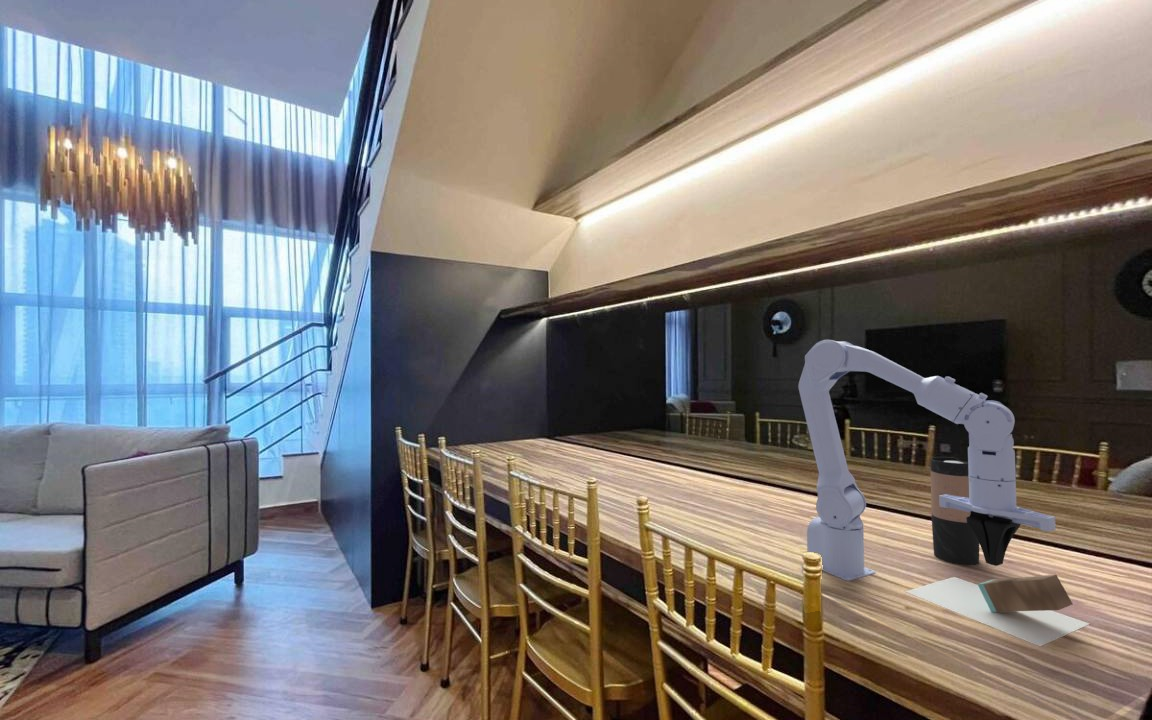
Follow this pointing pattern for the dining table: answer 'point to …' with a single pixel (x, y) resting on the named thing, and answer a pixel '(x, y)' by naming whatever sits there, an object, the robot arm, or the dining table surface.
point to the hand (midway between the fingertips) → (994, 563)
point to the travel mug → (951, 513)
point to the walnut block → (1025, 594)
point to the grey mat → (1017, 623)
